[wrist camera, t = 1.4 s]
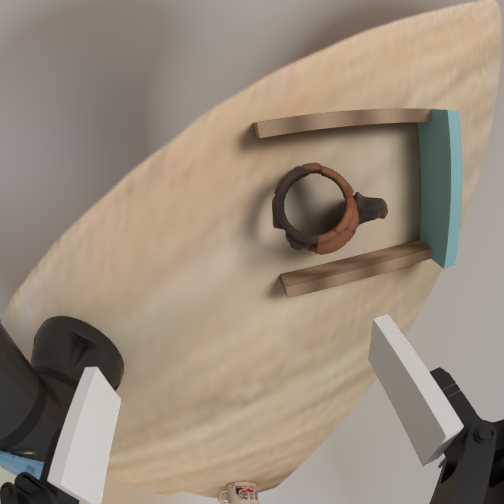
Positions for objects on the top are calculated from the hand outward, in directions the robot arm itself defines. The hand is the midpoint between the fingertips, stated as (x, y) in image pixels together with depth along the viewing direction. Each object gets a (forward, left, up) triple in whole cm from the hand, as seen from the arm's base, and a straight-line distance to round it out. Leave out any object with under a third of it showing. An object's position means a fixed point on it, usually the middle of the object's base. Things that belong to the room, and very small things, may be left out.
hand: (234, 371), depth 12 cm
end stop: (+26, 0, -21) cm, 33 cm away
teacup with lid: (-16, -76, -21) cm, 80 cm away
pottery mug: (+11, 0, -21) cm, 24 cm away
